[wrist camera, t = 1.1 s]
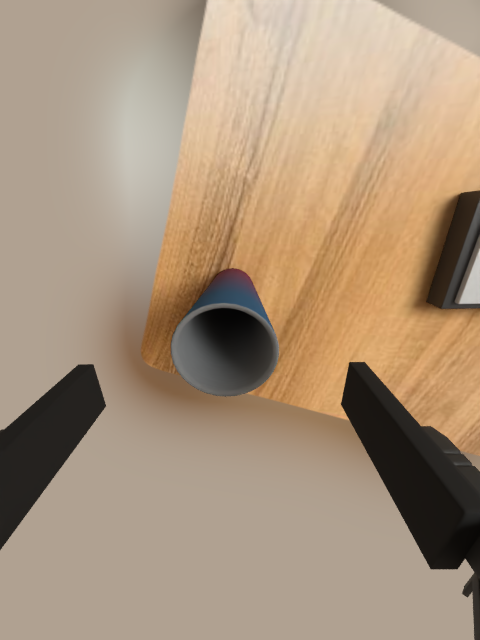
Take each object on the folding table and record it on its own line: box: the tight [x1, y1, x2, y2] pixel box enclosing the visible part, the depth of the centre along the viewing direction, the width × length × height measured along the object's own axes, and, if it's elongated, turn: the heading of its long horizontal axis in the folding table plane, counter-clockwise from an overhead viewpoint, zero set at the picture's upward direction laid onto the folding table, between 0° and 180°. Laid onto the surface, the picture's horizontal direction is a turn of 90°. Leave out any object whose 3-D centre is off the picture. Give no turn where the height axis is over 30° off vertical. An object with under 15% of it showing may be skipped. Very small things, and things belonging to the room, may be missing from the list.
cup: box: [171, 268, 279, 396], centre depth 21 cm, size 7×7×15 cm
